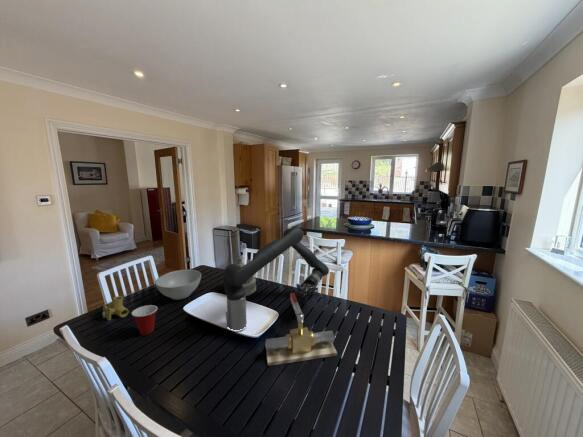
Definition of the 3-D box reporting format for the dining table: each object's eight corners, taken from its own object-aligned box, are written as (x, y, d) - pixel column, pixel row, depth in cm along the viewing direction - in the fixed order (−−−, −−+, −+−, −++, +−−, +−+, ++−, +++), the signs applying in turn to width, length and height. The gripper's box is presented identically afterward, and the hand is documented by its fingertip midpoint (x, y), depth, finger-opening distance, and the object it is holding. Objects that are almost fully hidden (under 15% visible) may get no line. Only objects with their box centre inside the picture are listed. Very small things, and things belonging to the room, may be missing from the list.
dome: (233, 263, 140) (218, 254, 154) (235, 301, 144) (220, 289, 159) (261, 255, 153) (245, 248, 168) (262, 290, 158) (246, 280, 172)
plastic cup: (164, 326, 120) (162, 305, 118) (147, 340, 110) (144, 317, 108) (147, 323, 123) (145, 302, 121) (129, 336, 113) (125, 314, 110)
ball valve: (117, 310, 136) (96, 317, 127) (118, 293, 136) (97, 299, 127) (129, 317, 131) (109, 324, 122) (130, 299, 130) (110, 306, 121)
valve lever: (304, 323, 100) (304, 315, 99) (297, 323, 100) (298, 316, 99) (294, 298, 120) (294, 292, 119) (289, 299, 119) (289, 293, 119)
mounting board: (267, 365, 95) (267, 360, 95) (265, 345, 107) (265, 339, 106) (336, 355, 101) (337, 349, 100) (327, 336, 112) (327, 331, 112)
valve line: (267, 358, 97) (266, 331, 95) (265, 346, 104) (265, 320, 102) (334, 348, 103) (335, 322, 101) (329, 337, 110) (330, 313, 107)
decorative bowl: (188, 281, 170) (187, 266, 168) (210, 292, 155) (209, 275, 153) (149, 297, 149) (147, 279, 147) (170, 311, 134) (168, 292, 131)
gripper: (301, 273, 137) (289, 286, 122) (323, 277, 132) (313, 291, 116) (301, 285, 139) (289, 299, 123) (322, 289, 133) (312, 305, 118)
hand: (300, 295), depth 120 cm, fingers closed
